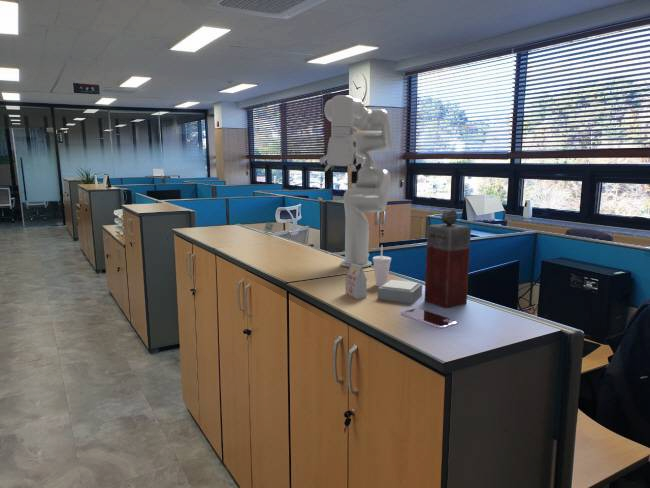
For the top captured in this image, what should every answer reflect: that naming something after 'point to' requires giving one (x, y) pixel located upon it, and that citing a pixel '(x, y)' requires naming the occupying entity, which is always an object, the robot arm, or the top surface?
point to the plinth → (400, 291)
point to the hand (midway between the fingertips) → (341, 183)
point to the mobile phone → (429, 318)
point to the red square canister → (447, 262)
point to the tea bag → (356, 282)
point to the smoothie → (381, 268)
